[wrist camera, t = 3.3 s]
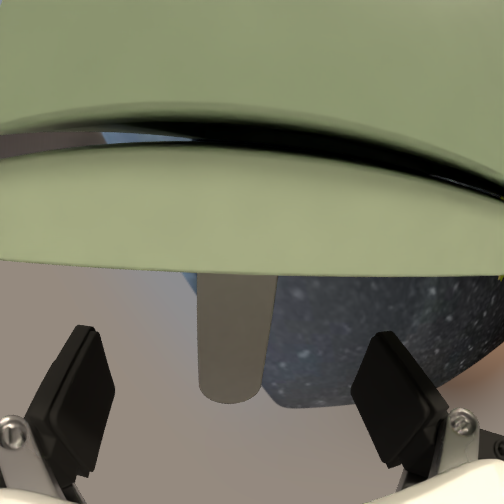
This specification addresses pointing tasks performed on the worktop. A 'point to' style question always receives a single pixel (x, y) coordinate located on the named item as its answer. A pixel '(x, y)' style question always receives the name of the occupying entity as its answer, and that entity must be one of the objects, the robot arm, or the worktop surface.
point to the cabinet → (268, 75)
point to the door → (241, 229)
